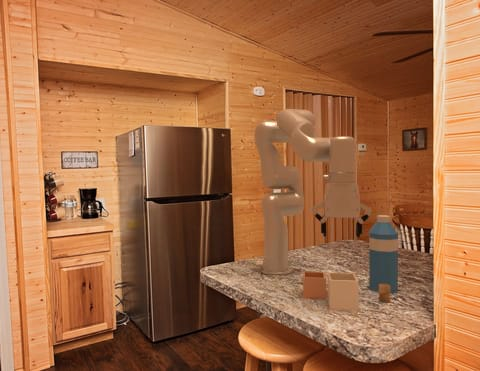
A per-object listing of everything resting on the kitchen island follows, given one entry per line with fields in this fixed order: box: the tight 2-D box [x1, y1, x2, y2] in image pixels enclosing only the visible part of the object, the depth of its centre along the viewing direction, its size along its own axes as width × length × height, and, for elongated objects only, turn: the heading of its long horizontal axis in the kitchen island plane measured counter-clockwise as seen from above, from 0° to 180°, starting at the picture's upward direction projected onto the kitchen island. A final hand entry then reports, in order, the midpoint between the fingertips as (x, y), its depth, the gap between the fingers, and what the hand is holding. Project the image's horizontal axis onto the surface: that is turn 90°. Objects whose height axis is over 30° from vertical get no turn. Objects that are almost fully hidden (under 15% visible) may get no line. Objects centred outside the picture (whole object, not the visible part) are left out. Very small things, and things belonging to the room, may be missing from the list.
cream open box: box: [327, 272, 360, 312], centre depth 109 cm, size 8×8×9 cm
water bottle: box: [368, 214, 399, 294], centre depth 123 cm, size 9×9×25 cm
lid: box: [378, 284, 391, 304], centre depth 112 cm, size 9×9×6 cm
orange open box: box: [302, 271, 327, 300], centre depth 118 cm, size 7×7×7 cm
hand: (341, 236), depth 109 cm, fingers open, 9 cm apart
